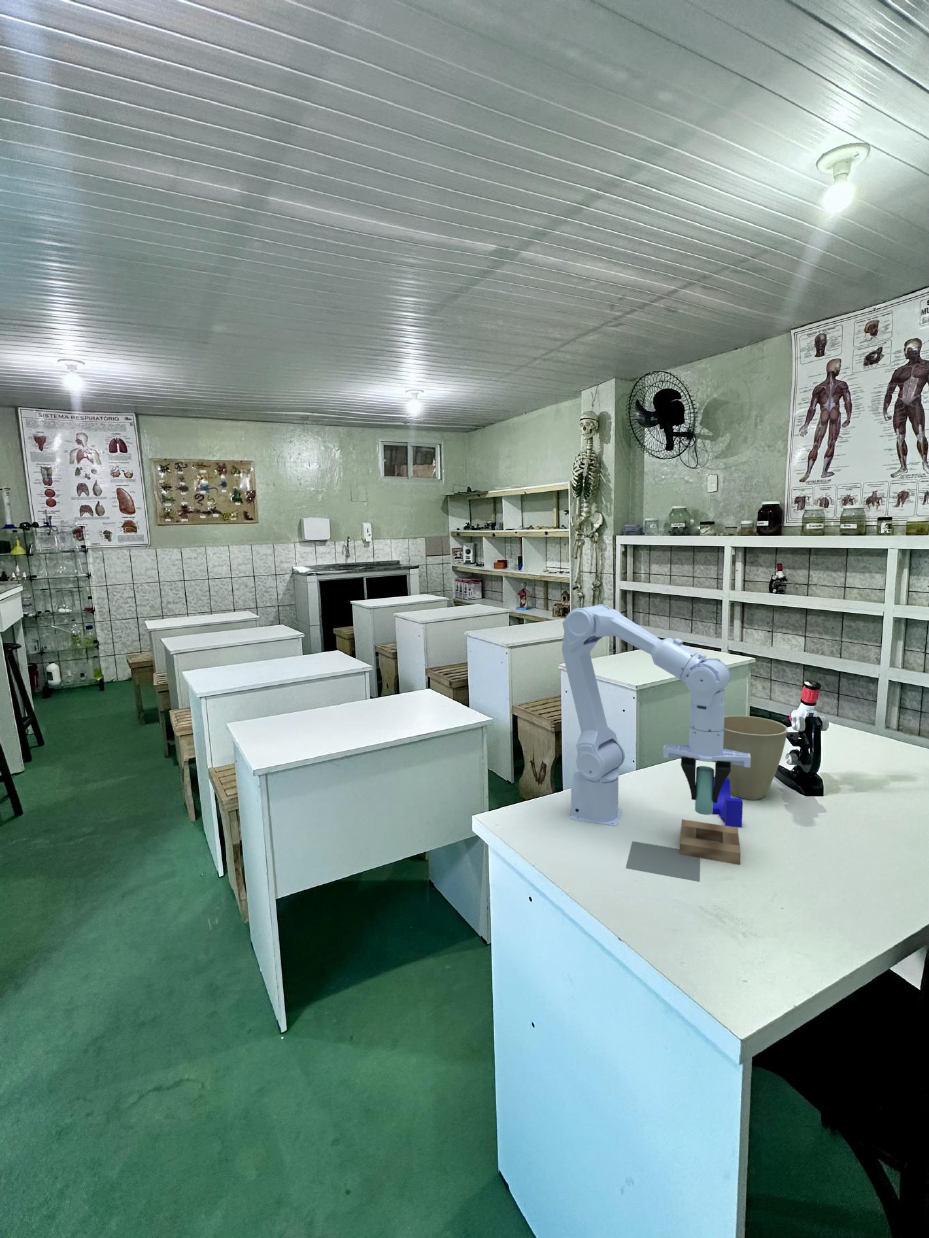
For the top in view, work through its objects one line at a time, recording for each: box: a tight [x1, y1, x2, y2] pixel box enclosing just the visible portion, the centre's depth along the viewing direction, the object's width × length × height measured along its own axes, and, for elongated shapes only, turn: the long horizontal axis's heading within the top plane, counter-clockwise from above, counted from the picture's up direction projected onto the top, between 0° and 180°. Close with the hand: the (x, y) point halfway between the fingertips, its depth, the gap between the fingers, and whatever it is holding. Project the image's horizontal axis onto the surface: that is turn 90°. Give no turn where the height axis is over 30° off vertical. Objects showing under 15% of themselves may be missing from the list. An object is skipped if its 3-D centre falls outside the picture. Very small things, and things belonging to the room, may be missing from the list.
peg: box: [694, 765, 715, 816], centre depth 108 cm, size 3×3×8 cm
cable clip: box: [711, 776, 744, 828], centre depth 123 cm, size 12×4×6 cm, turn 169°
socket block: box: [679, 819, 742, 866], centre depth 110 cm, size 10×10×2 cm
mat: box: [625, 840, 701, 883], centre depth 106 cm, size 12×10×1 cm
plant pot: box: [723, 715, 789, 800], centre depth 133 cm, size 15×15×16 cm
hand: (704, 799), depth 108 cm, fingers closed on peg, 3 cm apart
